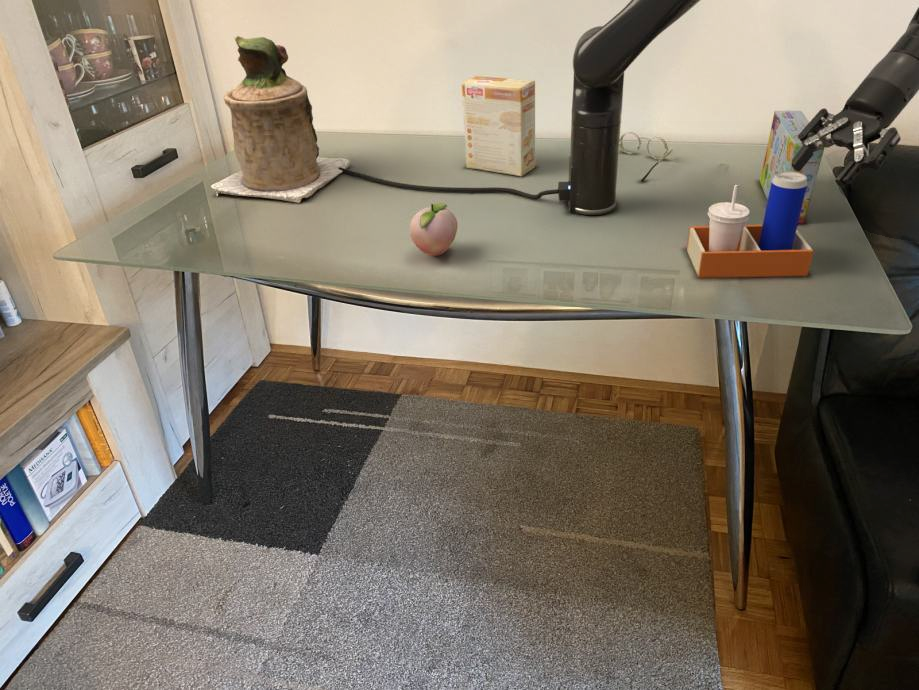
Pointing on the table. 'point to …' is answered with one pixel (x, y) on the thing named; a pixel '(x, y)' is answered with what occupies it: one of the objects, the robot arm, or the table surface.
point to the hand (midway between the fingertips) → (816, 176)
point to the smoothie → (726, 224)
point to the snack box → (788, 153)
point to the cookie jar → (273, 130)
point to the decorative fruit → (433, 229)
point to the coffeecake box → (499, 124)
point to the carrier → (747, 256)
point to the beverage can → (783, 211)
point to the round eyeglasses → (648, 150)
